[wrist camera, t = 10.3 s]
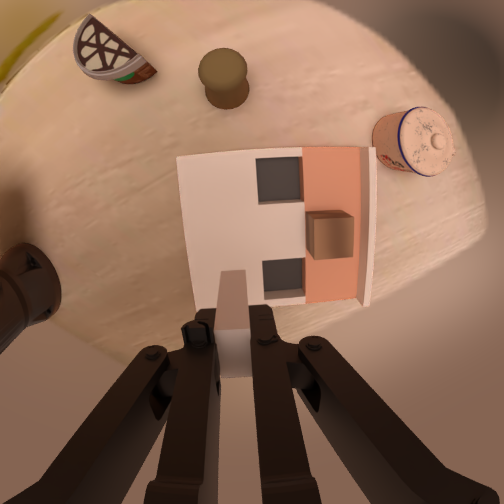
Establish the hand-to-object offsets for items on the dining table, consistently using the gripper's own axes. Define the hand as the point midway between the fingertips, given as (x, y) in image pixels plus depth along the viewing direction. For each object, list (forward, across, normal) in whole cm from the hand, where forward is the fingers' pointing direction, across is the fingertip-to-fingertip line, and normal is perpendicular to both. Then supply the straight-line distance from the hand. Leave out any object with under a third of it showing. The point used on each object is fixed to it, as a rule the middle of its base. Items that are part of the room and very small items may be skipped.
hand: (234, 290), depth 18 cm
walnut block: (+21, +12, -2) cm, 24 cm away
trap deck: (+24, +5, -2) cm, 24 cm away
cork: (+24, 0, +18) cm, 30 cm away
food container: (+24, -15, +24) cm, 37 cm away
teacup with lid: (+24, +26, +10) cm, 36 cm away
